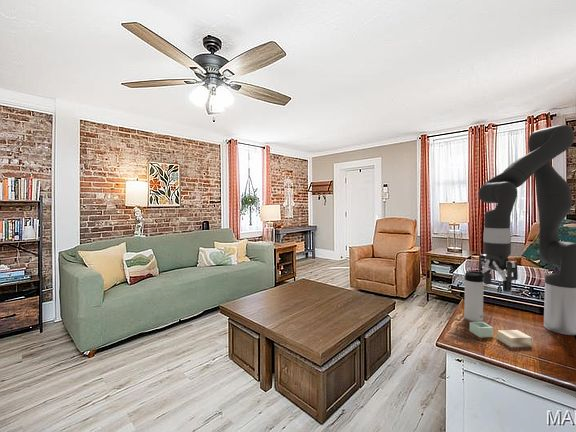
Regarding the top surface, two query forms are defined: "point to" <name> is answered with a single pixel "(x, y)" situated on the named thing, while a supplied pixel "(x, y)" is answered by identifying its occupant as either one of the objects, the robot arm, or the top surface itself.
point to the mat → (513, 347)
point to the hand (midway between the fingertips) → (496, 287)
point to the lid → (514, 338)
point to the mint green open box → (481, 329)
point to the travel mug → (473, 296)
